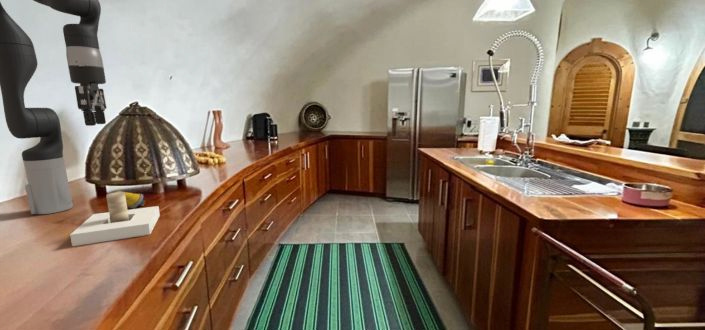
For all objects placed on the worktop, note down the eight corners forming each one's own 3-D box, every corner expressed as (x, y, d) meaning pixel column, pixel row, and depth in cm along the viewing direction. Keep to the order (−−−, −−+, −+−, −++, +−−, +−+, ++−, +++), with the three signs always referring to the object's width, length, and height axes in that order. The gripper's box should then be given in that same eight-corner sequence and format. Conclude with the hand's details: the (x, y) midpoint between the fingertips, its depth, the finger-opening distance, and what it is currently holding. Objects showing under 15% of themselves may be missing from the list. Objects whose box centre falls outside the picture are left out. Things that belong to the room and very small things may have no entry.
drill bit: (148, 209, 103) (118, 194, 96) (136, 214, 104) (107, 200, 97) (152, 196, 106) (124, 181, 99) (142, 201, 108) (113, 187, 101)
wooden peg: (110, 232, 82) (104, 196, 80) (114, 227, 86) (108, 193, 84) (128, 230, 84) (122, 194, 82) (131, 225, 87) (126, 191, 85)
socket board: (72, 246, 74) (70, 234, 74) (95, 224, 89) (93, 214, 88) (150, 234, 81) (148, 223, 80) (159, 215, 95) (158, 206, 94)
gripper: (79, 68, 90) (88, 124, 93) (56, 61, 77) (69, 126, 80) (110, 69, 93) (119, 123, 96) (94, 62, 80) (104, 125, 83)
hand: (96, 124), depth 88 cm, fingers open, 8 cm apart
